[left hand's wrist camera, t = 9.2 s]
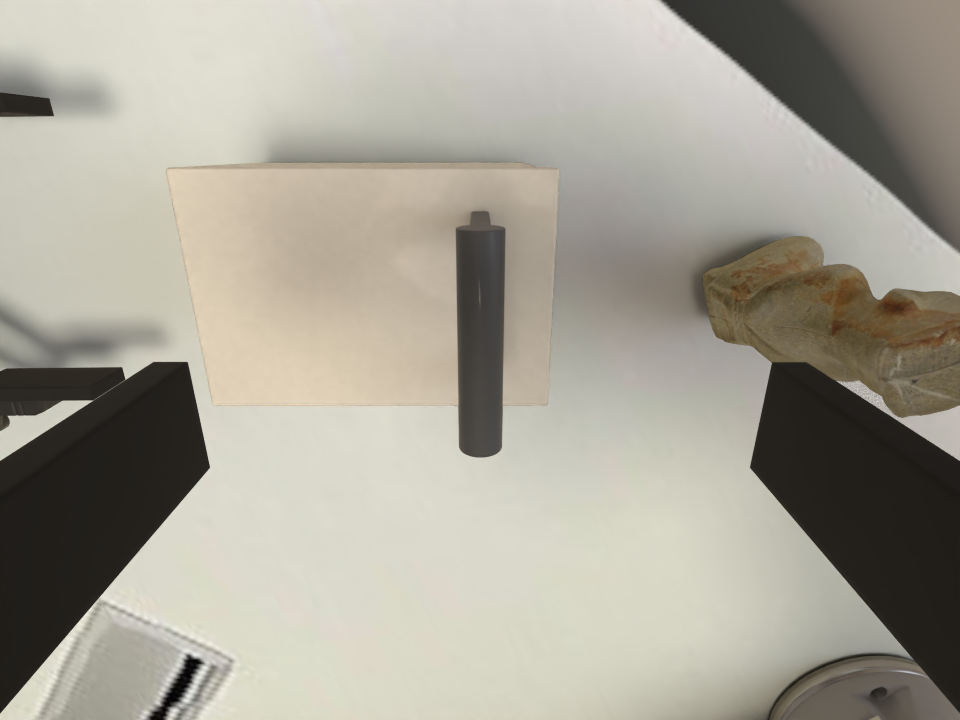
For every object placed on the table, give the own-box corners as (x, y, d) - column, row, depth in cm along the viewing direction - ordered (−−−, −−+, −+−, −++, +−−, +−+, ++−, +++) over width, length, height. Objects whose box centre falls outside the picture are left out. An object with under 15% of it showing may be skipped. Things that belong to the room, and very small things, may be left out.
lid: (555, 167, 22) (595, 175, 14) (544, 394, 26) (572, 495, 18) (181, 167, 22) (25, 175, 14) (224, 394, 26) (118, 496, 18)
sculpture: (811, 309, 34) (1044, 419, 20) (697, 340, 35) (844, 468, 21) (803, 218, 32) (1056, 270, 18) (682, 253, 33) (834, 330, 19)
